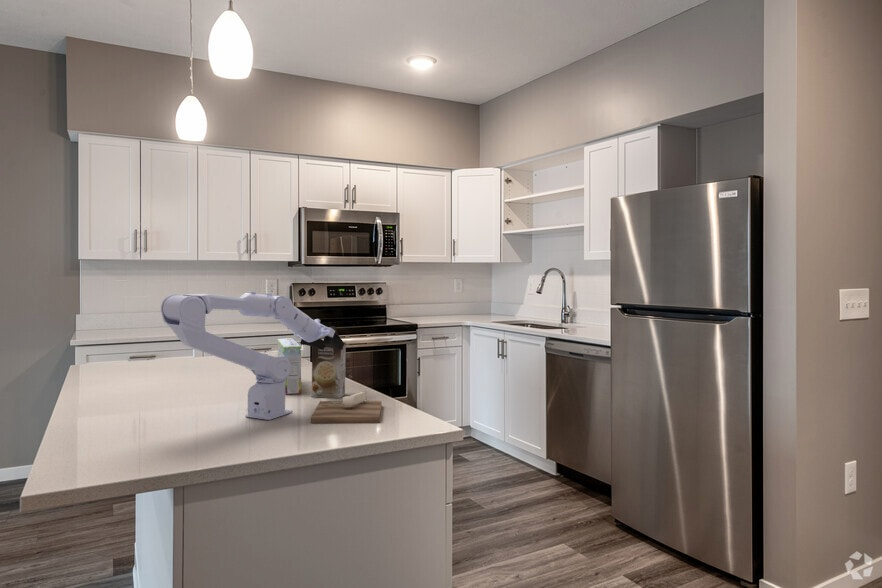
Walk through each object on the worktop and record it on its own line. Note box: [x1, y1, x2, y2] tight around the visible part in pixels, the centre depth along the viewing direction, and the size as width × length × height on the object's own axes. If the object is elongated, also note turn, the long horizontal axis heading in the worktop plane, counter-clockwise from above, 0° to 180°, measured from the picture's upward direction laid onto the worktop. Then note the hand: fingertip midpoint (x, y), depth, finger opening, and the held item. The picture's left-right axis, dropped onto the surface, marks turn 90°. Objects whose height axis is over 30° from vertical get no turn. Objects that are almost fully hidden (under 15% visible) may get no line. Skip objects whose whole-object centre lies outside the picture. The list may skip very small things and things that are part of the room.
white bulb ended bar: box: [342, 390, 367, 407], centre depth 159 cm, size 10×3×2 cm, turn 156°
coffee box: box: [310, 342, 347, 399], centre depth 178 cm, size 9×6×16 cm
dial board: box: [310, 400, 383, 424], centre depth 155 cm, size 18×17×2 cm
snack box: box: [277, 337, 302, 396], centre depth 189 cm, size 21×6×15 cm, turn 21°
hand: (333, 346), depth 170 cm, fingers open, 7 cm apart
